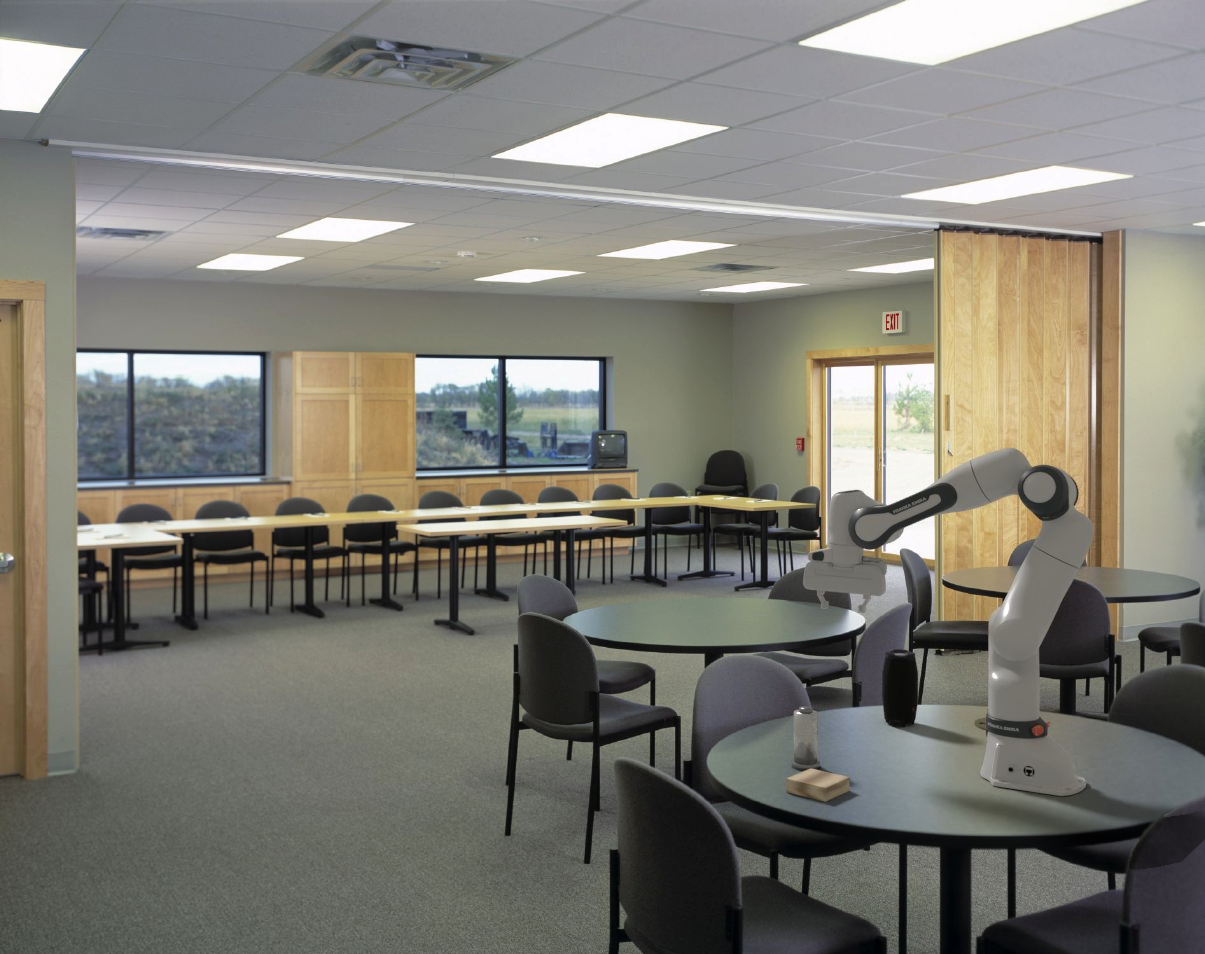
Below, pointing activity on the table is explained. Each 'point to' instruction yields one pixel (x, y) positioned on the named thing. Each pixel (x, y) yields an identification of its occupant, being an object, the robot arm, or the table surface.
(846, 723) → the table surface
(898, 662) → the portable speaker
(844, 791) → the stand
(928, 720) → the table surface
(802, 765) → the cylinder
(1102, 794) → the table surface
